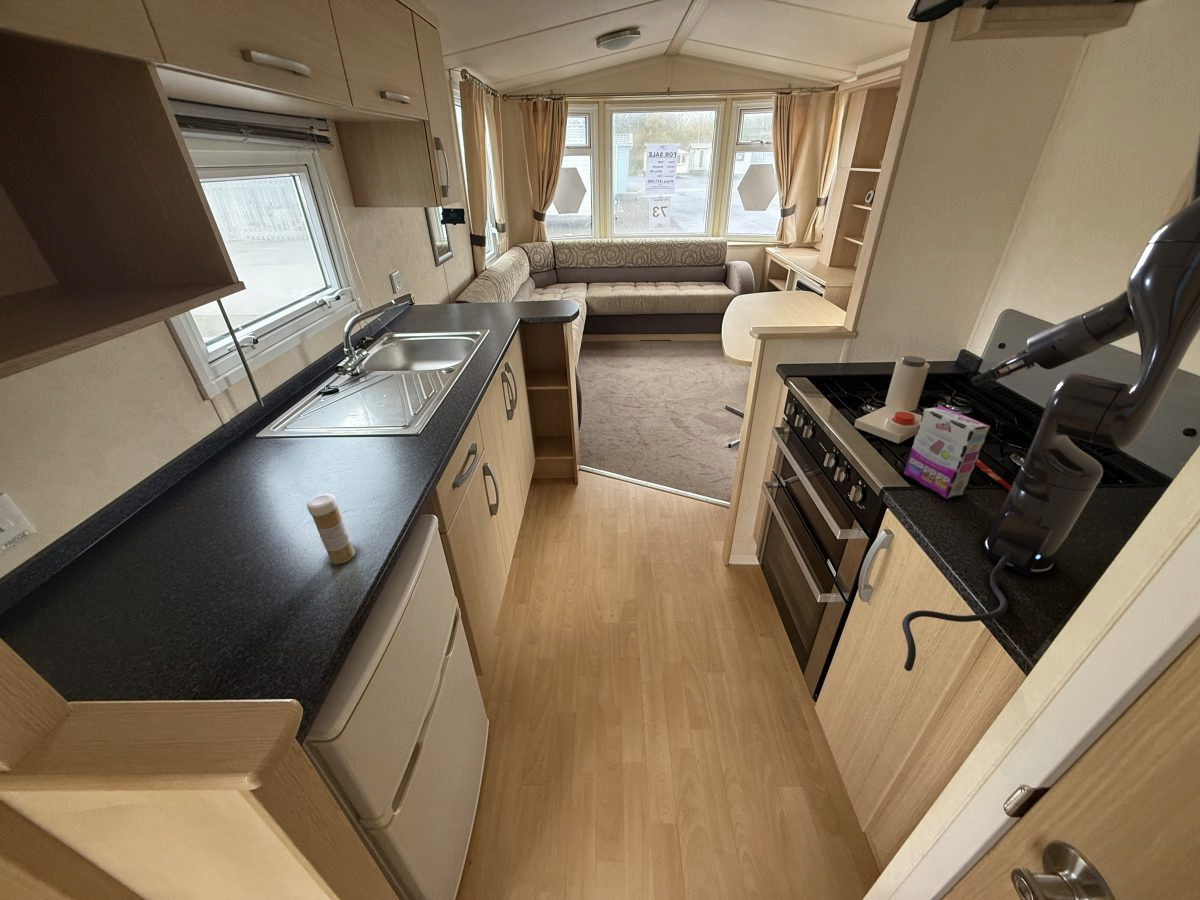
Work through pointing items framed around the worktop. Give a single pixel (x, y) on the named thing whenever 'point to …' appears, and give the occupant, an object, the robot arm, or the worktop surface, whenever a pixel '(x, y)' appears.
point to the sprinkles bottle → (331, 528)
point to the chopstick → (992, 474)
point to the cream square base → (888, 425)
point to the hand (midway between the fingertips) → (974, 382)
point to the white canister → (907, 383)
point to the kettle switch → (904, 418)
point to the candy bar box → (945, 451)
